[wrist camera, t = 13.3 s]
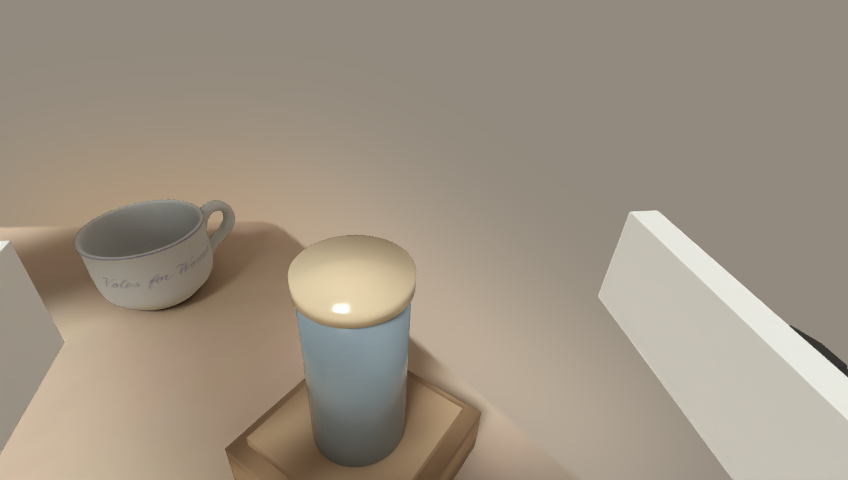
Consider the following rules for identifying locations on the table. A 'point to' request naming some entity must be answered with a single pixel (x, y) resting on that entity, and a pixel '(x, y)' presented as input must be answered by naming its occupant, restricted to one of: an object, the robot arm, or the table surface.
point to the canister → (354, 343)
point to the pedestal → (393, 476)
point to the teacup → (152, 251)
